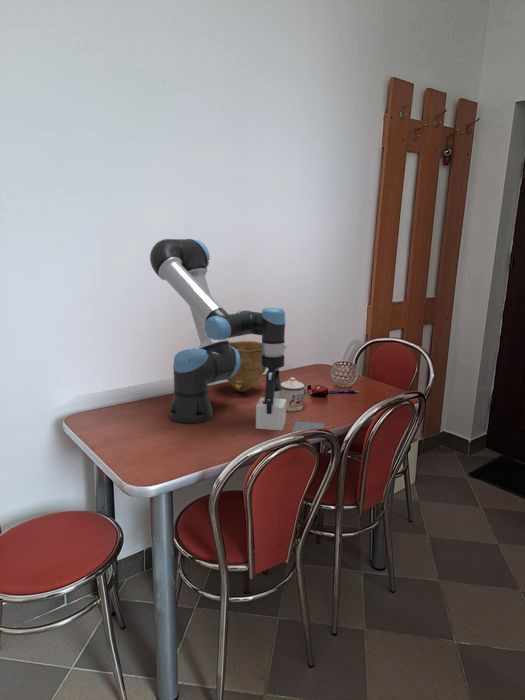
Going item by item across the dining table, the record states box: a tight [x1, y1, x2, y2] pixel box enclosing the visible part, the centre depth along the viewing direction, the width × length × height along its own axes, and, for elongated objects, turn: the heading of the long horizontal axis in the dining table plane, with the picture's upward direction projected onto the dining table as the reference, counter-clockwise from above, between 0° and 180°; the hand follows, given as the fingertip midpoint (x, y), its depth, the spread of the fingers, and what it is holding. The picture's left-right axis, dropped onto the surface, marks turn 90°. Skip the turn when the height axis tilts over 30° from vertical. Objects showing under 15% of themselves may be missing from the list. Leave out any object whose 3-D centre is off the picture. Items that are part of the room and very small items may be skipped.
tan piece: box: [226, 340, 267, 393], centre depth 206 cm, size 21×20×20 cm
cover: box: [255, 397, 287, 431], centre depth 172 cm, size 9×9×8 cm
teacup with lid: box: [279, 377, 308, 412], centre depth 190 cm, size 12×9×12 cm
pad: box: [292, 420, 325, 433], centre depth 170 cm, size 10×10×1 cm
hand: (272, 415), depth 172 cm, fingers open, 13 cm apart
